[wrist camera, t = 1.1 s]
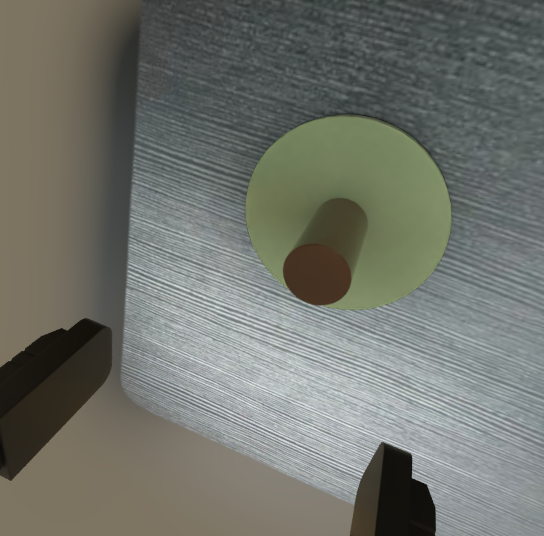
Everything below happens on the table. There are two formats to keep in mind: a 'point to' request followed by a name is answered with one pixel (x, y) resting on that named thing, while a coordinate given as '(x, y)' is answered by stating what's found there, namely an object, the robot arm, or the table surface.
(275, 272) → the lid
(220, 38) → the table surface
